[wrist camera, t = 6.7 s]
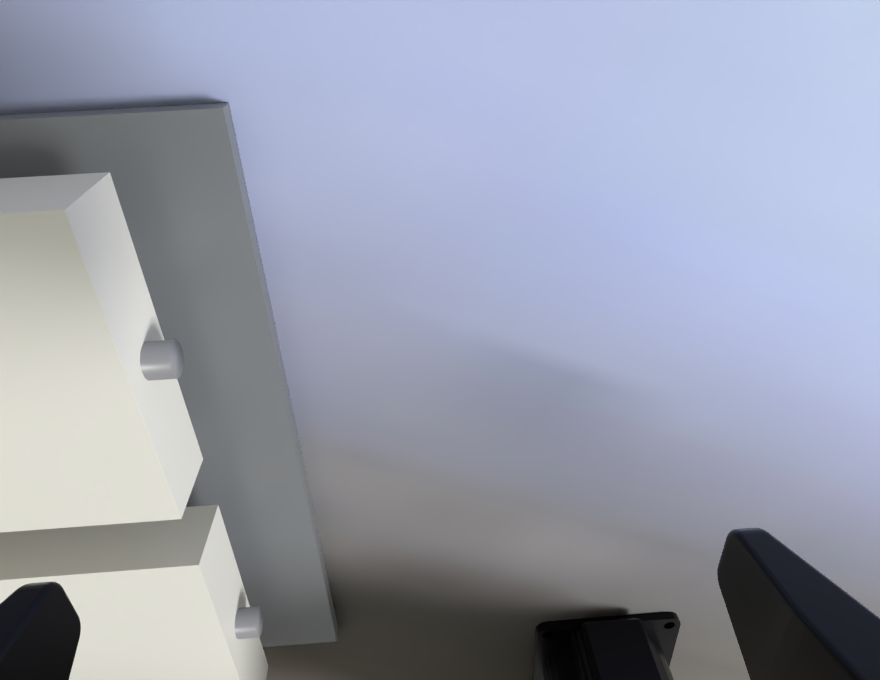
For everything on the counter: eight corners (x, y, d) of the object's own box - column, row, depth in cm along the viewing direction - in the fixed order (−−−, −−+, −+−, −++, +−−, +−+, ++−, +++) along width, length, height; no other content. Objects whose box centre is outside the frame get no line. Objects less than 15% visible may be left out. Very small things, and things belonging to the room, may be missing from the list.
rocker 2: (286, 664, 25) (276, 726, 23) (-30, 690, 25) (-68, 755, 23) (239, 503, 21) (222, 563, 19) (-150, 531, 20) (-211, 595, 18)
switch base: (339, 616, 28) (336, 645, 27) (-28, 645, 28) (-47, 676, 27) (233, 97, 17) (220, 110, 15) (-405, 132, 16) (-469, 147, 15)
